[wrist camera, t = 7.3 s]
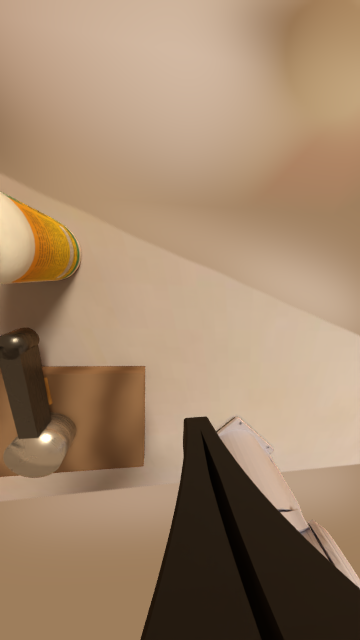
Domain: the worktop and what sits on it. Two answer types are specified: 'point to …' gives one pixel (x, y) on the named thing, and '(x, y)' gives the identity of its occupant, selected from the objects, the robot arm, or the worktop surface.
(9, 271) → the supplement bottle
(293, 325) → the worktop surface
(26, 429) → the round-headed handle tool
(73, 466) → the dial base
